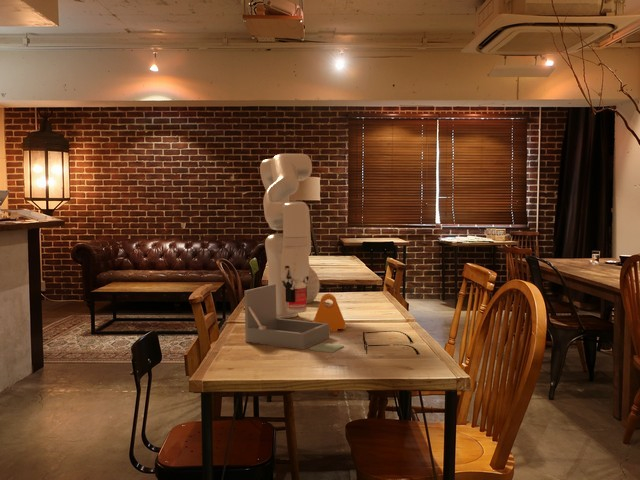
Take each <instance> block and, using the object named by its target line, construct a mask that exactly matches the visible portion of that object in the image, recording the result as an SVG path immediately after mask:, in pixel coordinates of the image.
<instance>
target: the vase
mask: <svg viewBox="0 0 640 480" xmlns="http://www.w3.org/2000/svg"><path fill="white" fill-rule="evenodd" d="M309 271H310V275H309V277H308V281H307V283H308V285H307V298H306V304H311V303H313V302H315V300H316V299H317V296H318V295H319V292H320V279H319V275H318V274H317V273H316V271H315V270H314V269H313V268H312V267H311V266H310V265H309Z"/></svg>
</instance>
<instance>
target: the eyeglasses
mask: <svg viewBox="0 0 640 480" xmlns="http://www.w3.org/2000/svg"><path fill="white" fill-rule="evenodd" d="M387 332H388V333H389V332H390V333H392V332H396V333H401V334H403V335H404V336H406V337H407V339H408V340H409V342H410V343H411V342H412V343H411V344H413V343H414V341H413V339H412V338H411V337H410V335H408V334H406V333H405V332H403V331H400V330H382V331H379V330H378V331H363V332H362V336H363V337H362V341H363V348H364V350H365V354H366V355H368V347H382V346H384V347H385V346H389V344H367V341H366V338H365V337H366V334H373V333H375V334H377V333H387ZM394 346H402V343H401V344H398V343H397V344H394ZM403 346H405V347H409V348H412V349H413V350H414V351H415V353H416V355H420V352H419V350H418V349H417V348H416V347H413V346H412V345H409V344H403Z"/></svg>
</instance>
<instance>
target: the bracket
mask: <svg viewBox="0 0 640 480" xmlns="http://www.w3.org/2000/svg"><path fill="white" fill-rule="evenodd" d="M327 300H330V301H332V303H331V304H330V305H326V304H325V302H326V301H327ZM312 322H319V323H329V332H338V330H346V322H345V319H344V317H343V314H342V312H341V308H340V306H339V303H338V301H337V299H336V296H335V295H333V294H331V293H326V294H324V295H323V296H321V298H320V302H319V305H318V307H317V310H316V313H315V316H314V319H312Z"/></svg>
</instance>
